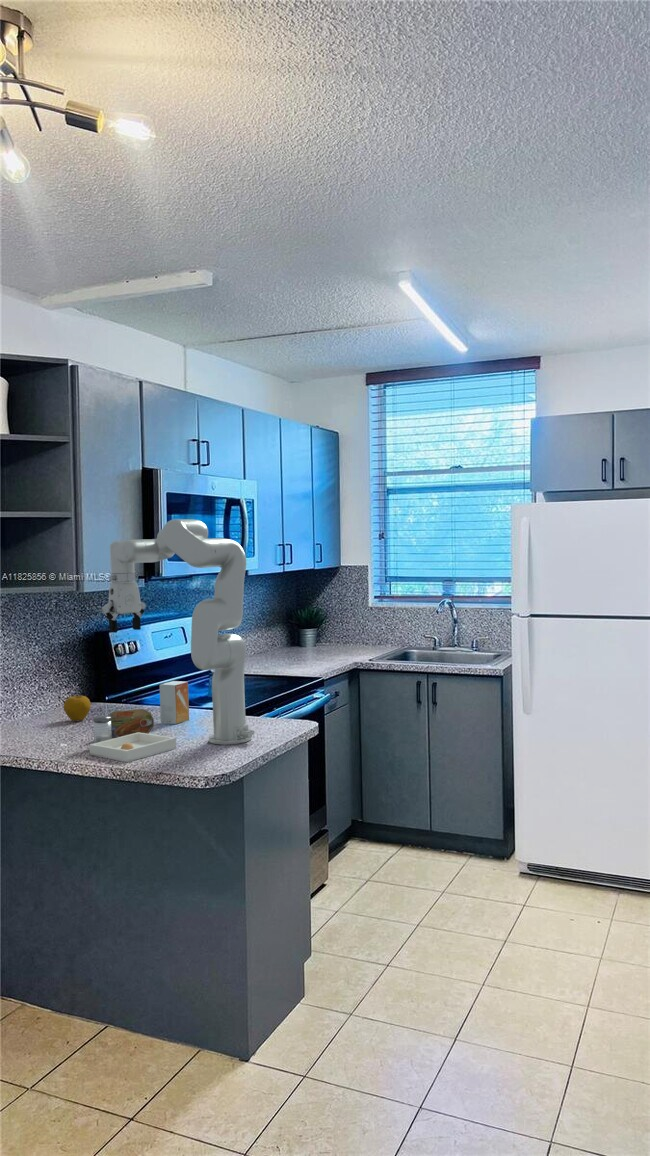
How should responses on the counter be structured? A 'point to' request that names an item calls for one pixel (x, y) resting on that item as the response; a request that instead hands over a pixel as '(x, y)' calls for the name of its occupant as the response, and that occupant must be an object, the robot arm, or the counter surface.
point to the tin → (130, 722)
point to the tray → (141, 743)
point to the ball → (127, 746)
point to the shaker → (102, 728)
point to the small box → (174, 702)
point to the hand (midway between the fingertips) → (125, 631)
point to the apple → (77, 707)
